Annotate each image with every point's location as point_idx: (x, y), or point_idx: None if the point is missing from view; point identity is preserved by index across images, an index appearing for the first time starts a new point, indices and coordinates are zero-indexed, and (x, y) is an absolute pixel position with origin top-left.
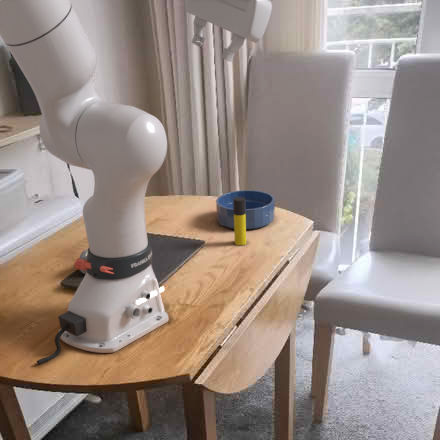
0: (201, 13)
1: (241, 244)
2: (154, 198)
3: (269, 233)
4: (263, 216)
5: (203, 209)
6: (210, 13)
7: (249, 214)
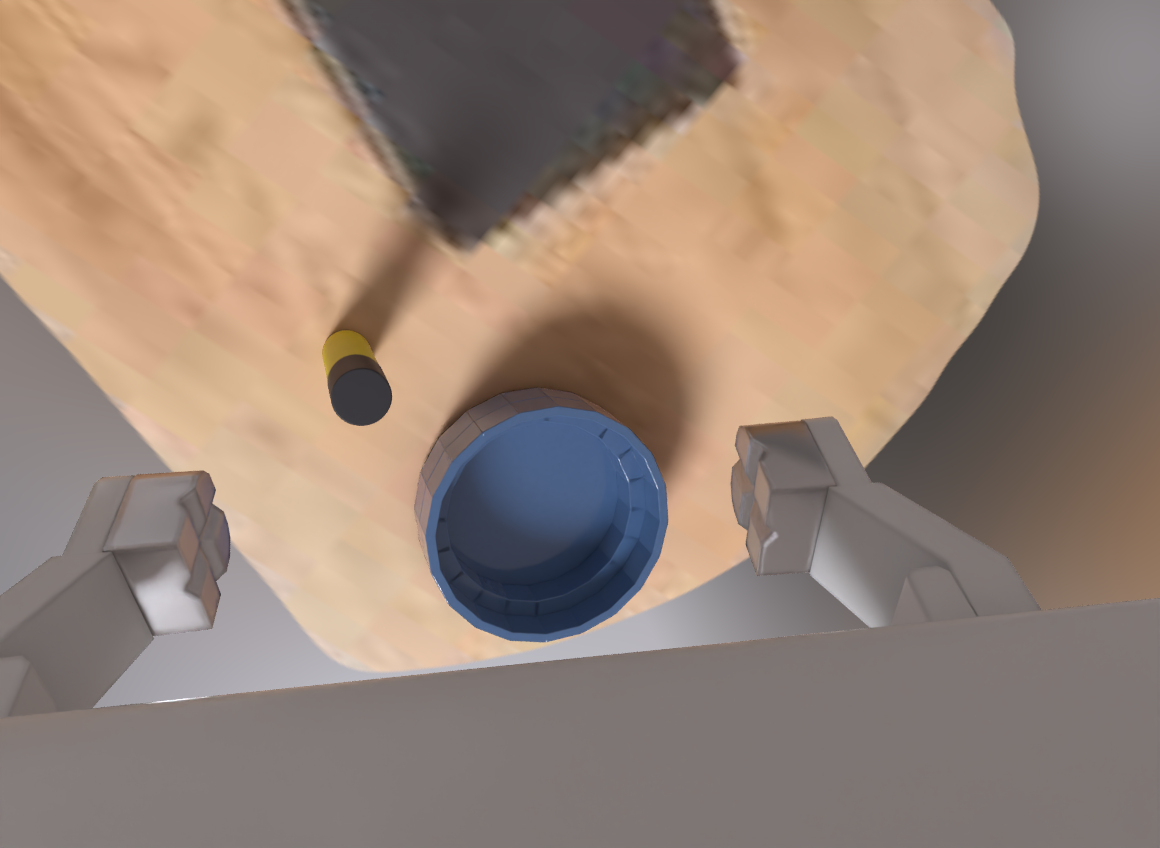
0: (892, 667)
1: (324, 344)
2: (950, 338)
3: (355, 499)
4: (420, 525)
5: (730, 427)
6: (663, 748)
7: (439, 472)
